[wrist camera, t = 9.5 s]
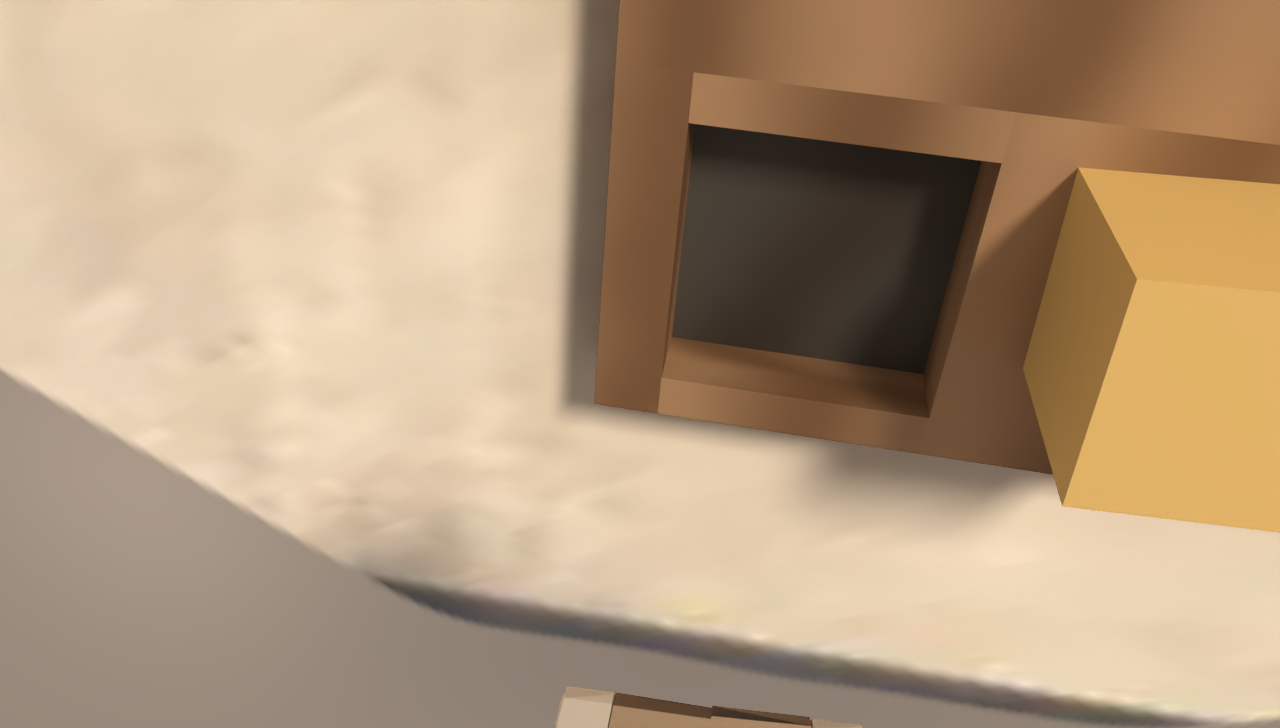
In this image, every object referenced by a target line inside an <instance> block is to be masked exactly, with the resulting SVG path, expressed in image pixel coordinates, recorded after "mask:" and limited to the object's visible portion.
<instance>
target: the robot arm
mask: <svg viewBox="0 0 1280 728" xmlns="http://www.w3.org/2000/svg"><path fill="white" fill-rule="evenodd" d="M554 728H863V727H862V726H861V725H858V724H850V723H842V722H833V721H826V720H817V719H812V720H811V721H810V718H809V717H804V716H796V715H787V714H779V713H769V712H761V711H753V710H744V709H735V708H727V707H718V706H713V707H712V708H709V707H703V706H697V705H690V704H683V703H678V702H671V701H665V700H659V699H652V698H646V697H640V696H634V695H627V694H621V693H615V692H608V691H600V690H593V689H586V688H579V687H571V686H567V688H566V690H565V692H564V694H563V696H562V698H561V700H560V704H559V708H558V712H557V716H556V720H555V724H554Z"/></svg>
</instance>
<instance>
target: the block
mask: <svg viewBox="0 0 1280 728" xmlns="http://www.w3.org/2000/svg"><path fill="white" fill-rule="evenodd" d="M1023 370H1024V374H1025V377H1026V381H1027V384H1028V388H1029V391H1030V395H1031V398H1032V402H1033V405H1034V409H1035V412H1036V416H1037V419H1038V423H1039V426H1040V430H1041V433H1042V437H1043V440H1044V444H1045V447H1046V451H1047V454H1048V458H1049V461H1050V465H1051V468H1052V472H1053V475H1054V479H1055V482H1056V486H1057V489H1058V493H1059V496H1060V500H1061V503H1062V506H1064V507H1072V508H1080V509H1089V510H1097V511H1105V512H1114V513H1122V514H1130V515H1139V516H1147V517H1155V518H1164V519H1172V520H1180V521H1189V522H1197V523H1205V524H1214V525H1222V526H1230V527H1239V528H1247V529H1256V530H1264V531H1272V532H1280V184H1270V183H1258V182H1246V181H1234V180H1222V179H1210V178H1198V177H1186V176H1174V175H1162V174H1150V173H1138V172H1126V171H1114V170H1102V169H1090V168H1078V170H1077V174H1076V177H1075V181H1074V185H1073V188H1072V192H1071V196H1070V199H1069V203H1068V206H1067V210H1066V214H1065V217H1064V221H1063V225H1062V228H1061V232H1060V235H1059V239H1058V243H1057V246H1056V250H1055V254H1054V257H1053V261H1052V265H1051V268H1050V272H1049V275H1048V279H1047V283H1046V286H1045V290H1044V294H1043V297H1042V301H1041V304H1040V308H1039V312H1038V315H1037V319H1036V323H1035V326H1034V330H1033V333H1032V337H1031V341H1030V344H1029V348H1028V352H1027V355H1026V359H1025V363H1024V366H1023Z"/></svg>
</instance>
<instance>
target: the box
mask: <svg viewBox="0 0 1280 728" xmlns="http://www.w3.org/2000/svg"><path fill="white" fill-rule="evenodd" d="M1078 168H1090V169H1102V170H1114V171H1126V172H1138V173H1150V174H1162V175H1174V176H1186V177H1198V178H1210V179H1222V180H1234V181H1246V182H1258V183H1270V184H1280V0H620V4H619V20H618V35H617V51H616V67H615V83H614V99H613V115H612V130H611V146H610V162H609V178H608V194H607V209H606V225H605V241H604V257H603V273H602V289H601V304H600V320H599V336H598V352H597V368H596V383H595V399H594V404H600V405H607V406H613V407H620V408H626V409H633V410H639V411H645V412H652V413H658V414H665V415H671V416H678V417H684V418H691V419H697V420H704V421H710V422H717V423H723V424H730V425H736V426H743V427H749V428H756V429H762V430H769V431H775V432H782V433H788V434H794V435H801V436H807V437H814V438H820V439H827V440H833V441H840V442H846V443H853V444H859V445H866V446H872V447H879V448H885V449H892V450H898V451H905V452H911V453H918V454H924V455H931V456H937V457H943V458H950V459H956V460H963V461H969V462H976V463H982V464H989V465H995V466H1002V467H1008V468H1015V469H1021V470H1028V471H1034V472H1041V473H1047V474H1053V472H1052V468H1051V465H1050V461H1049V458H1048V454H1047V451H1046V447H1045V444H1044V440H1043V437H1042V433H1041V430H1040V426H1039V423H1038V419H1037V416H1036V412H1035V409H1034V405H1033V402H1032V398H1031V395H1030V391H1029V388H1028V384H1027V381H1026V377H1025V374H1024V370H1023V366H1024V363H1025V359H1026V355H1027V352H1028V348H1029V344H1030V341H1031V337H1032V333H1033V330H1034V326H1035V323H1036V319H1037V315H1038V312H1039V308H1040V304H1041V301H1042V297H1043V294H1044V290H1045V286H1046V283H1047V279H1048V275H1049V272H1050V268H1051V265H1052V261H1053V257H1054V254H1055V250H1056V246H1057V243H1058V239H1059V235H1060V232H1061V228H1062V225H1063V221H1064V217H1065V214H1066V210H1067V206H1068V203H1069V199H1070V196H1071V192H1072V188H1073V185H1074V181H1075V177H1076V174H1077V170H1078Z"/></svg>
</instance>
